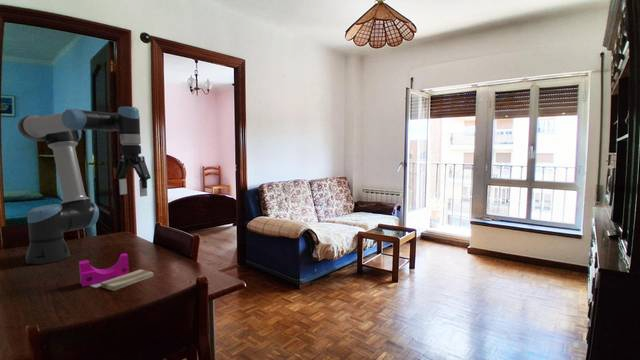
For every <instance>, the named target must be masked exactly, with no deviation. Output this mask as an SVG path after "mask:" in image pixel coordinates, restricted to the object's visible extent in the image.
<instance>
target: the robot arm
mask: <svg viewBox="0 0 640 360" xmlns="http://www.w3.org/2000/svg"><path fill="white" fill-rule="evenodd" d="M139 112H140V110H139V109H138V108H137V107H134V106H119V107H118V109H117V112H104V111H93V110H83V109H79V108H78V109H76V108H74V109H73V108H68V109H65V110H64V111H63V112H62V113H61V112H60V113H59V112H58V113H55V114H54V113H53V114H47V115H41V114H39V115H37V114H33V115H26V116H24V117H22V118H20V119H19V121H18V123H17V128H18V131H19V133H20V135H22V136H23V137H24V138H26V139H28V140H29V141H30V140H31V141H36V142H45V143H46V145H47V147H48V148H49V149H51V150H52V152H53V157H54V163H55V167H56V171H57V175H58V180H59V185H60V189H61V194H62V197H63V199H62V200H61V202H60V204H58V203H55V204H54V203H53V204H47V205H42V206H38V207H37V206H36V207H34V208H32V209H30V210H29V211H28V212H27V220H26V222H27V227H28V239H29V246H28V249H27V252H26V254H25V263H26V264H28V265H43V264H51V263H55V262H59V261H62V260H65V259H68V258H69V257H70V256H71V254H70V249H69V247H68V245H67V243H66V240H65V239H64V233H67V232H72V231H77V230H81V229H82V230H83V229H87V228H90V227H93V226H94V225H95V224H97V221H98V220H99V217H100V210H99V207H98V205H97V204H96V202H92V200H91V198H90V197H88V196H87V195H86V192H85V191H86V190H85V187H84V183H83V178H82V174H81V170H80V165H79V160H78V157H77V151H76V147H77V146H78V144H79V141H80V140H81V138H82V131H83V130H86V131H88V130H90V131H104V132H119V142H120V143H119V144H120V147H119V148H120V154H121V156H119V155H118V163H117V166H116V170H115V175H114V177H115V178H116V179H118V186H119V195H127V194H128V186H127V183H128V182H127V174H128V172H129V170H130V169H131V168H132V169H134V171H135V172H136V174H137V176H138V178H139V179H138V183H139V197H147V196H148V180H149V179H150V180H151V173H150V172H149V169H148V167H147V163H146V161H145V156H141V154H142V146H141V144H142V141H141V126H140V125H141V120H140V119H141V118H140V113H139Z"/></svg>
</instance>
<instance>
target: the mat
mask: <svg viewBox="0 0 640 360" xmlns="http://www.w3.org/2000/svg"><path fill="white" fill-rule="evenodd" d="M79 284H81V282H80V281H79ZM88 287H91V288H94V289H98V288H101V283H98V284H94V285H89V286H88Z"/></svg>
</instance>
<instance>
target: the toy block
mask: <svg viewBox="0 0 640 360" xmlns="http://www.w3.org/2000/svg"><path fill="white" fill-rule="evenodd" d="M129 265H130V264H129V255H128V253H127V252H125V253H120V254H119V258H118V260H117V261H116V262H115V263H114V264H113V265H112V266H109V267H107V268H102V269H100V268H95V267H93V266H92V265H91V264H90V261H89V259H84V260H80V261H78V266H79V283H80V282H81V283H80V284H81V286H82V288H84V287H90V286H89V285H94V284H98V283H101V282H104V281H107V280H110V279H113V278H116V277H119V276H122V275H125V274H128V273H130V266H129Z"/></svg>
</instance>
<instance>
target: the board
mask: <svg viewBox="0 0 640 360" xmlns="http://www.w3.org/2000/svg"><path fill="white" fill-rule="evenodd" d="M153 277H154V272H153V271H149V270H144V269H137V270H135V271H132V272H129V273H128V274H125V275H122V276H119V277H116V278H113V279H110V280H107V281H104V282H101V286H100V288H103V289H107V290H110V291H119V290H120V289H123V288H126V287H128V286H131V285H133V284H136V283H140V282H141V281H144V280H147V279H150V278H153Z"/></svg>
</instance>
